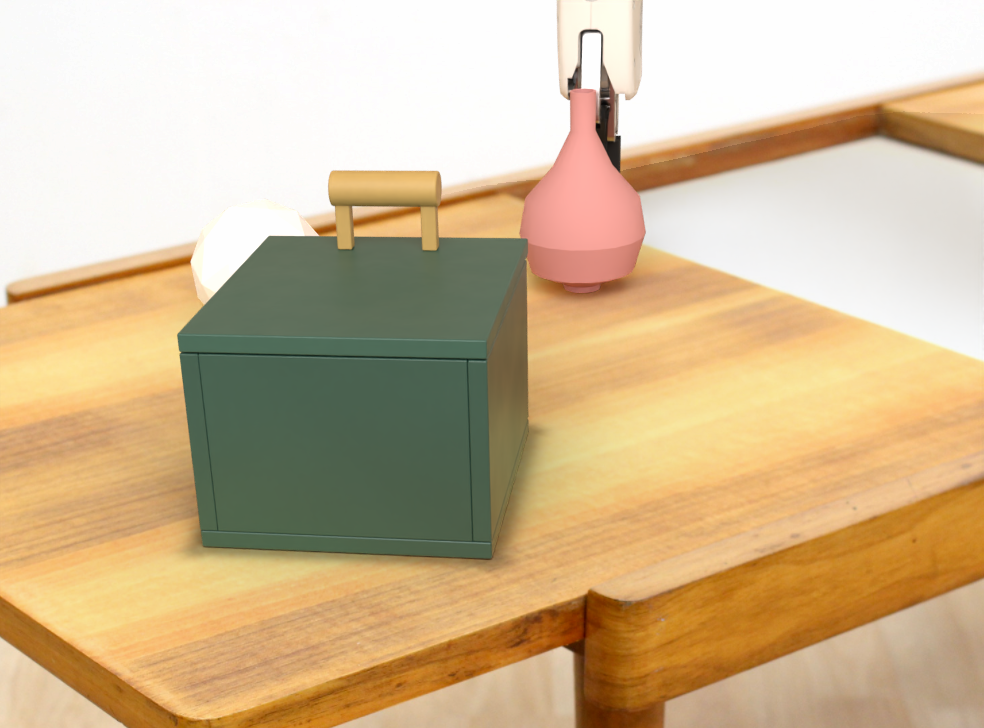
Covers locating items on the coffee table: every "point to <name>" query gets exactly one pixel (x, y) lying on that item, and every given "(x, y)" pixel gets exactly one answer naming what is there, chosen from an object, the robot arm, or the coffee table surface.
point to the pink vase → (582, 211)
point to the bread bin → (359, 447)
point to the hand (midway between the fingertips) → (595, 196)
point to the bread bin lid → (365, 285)
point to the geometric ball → (239, 240)
